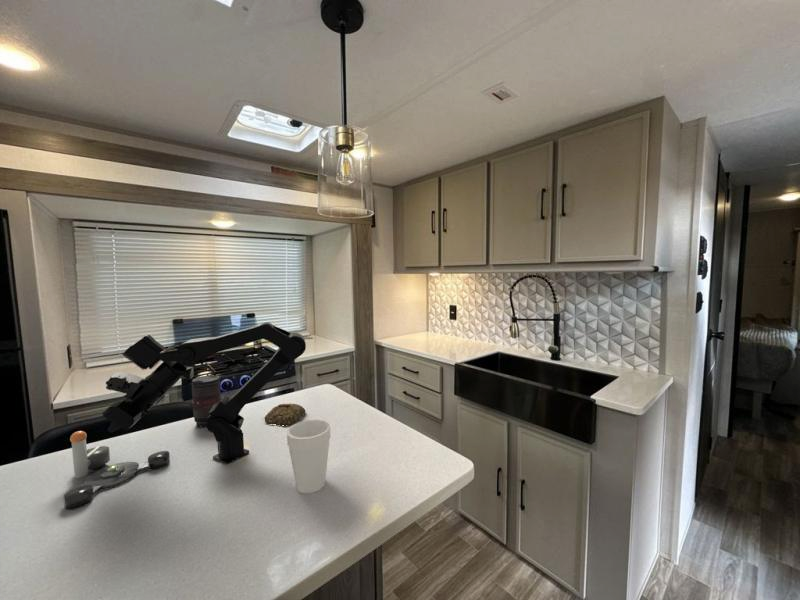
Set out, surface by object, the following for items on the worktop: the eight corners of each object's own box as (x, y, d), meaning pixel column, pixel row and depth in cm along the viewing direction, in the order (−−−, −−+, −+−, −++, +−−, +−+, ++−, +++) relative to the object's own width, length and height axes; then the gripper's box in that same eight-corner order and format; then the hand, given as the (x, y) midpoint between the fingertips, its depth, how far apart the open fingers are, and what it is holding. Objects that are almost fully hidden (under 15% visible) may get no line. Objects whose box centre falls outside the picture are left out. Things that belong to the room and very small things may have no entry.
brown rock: (310, 412, 116) (309, 399, 116) (291, 428, 104) (290, 413, 104) (278, 410, 119) (277, 396, 119) (255, 425, 107) (254, 410, 107)
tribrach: (174, 463, 85) (173, 453, 85) (69, 512, 67) (68, 500, 67) (138, 447, 93) (138, 438, 93) (37, 488, 76) (36, 477, 75)
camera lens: (209, 429, 104) (206, 382, 103) (187, 427, 106) (185, 381, 105) (227, 418, 112) (225, 375, 111) (207, 417, 114) (204, 374, 113)
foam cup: (339, 476, 78) (337, 422, 77) (317, 501, 69) (315, 441, 68) (305, 469, 81) (303, 417, 80) (280, 493, 72) (277, 435, 71)
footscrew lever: (86, 459, 85) (83, 419, 84) (114, 455, 87) (111, 416, 86) (61, 480, 76) (57, 436, 75) (93, 475, 78) (90, 432, 77)
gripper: (148, 352, 89) (101, 397, 86) (110, 370, 71) (50, 427, 68) (183, 378, 92) (138, 422, 89) (155, 401, 74) (99, 458, 71)
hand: (109, 431), depth 79 cm, fingers closed
